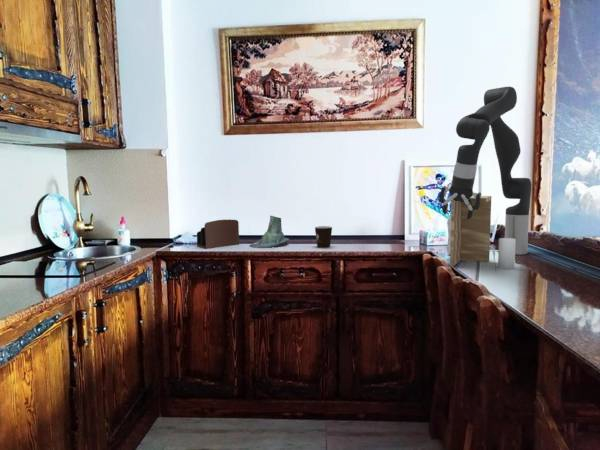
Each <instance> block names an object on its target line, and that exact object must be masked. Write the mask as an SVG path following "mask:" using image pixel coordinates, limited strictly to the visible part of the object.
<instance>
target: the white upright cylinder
mask: <svg viewBox="0 0 600 450" xmlns="http://www.w3.org/2000/svg"><path fill="white" fill-rule="evenodd" d="M515 243H516V239H513V238H505V237H500V238H498V254H497V255H498V257H497V258H498V260H497V261H498V262H497V268H498V269H500V270H501V269H502V270H509V271H510V270H515V268H516V267H515V263H516V262H515V261H516V254H515Z"/></svg>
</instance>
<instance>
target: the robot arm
mask: <svg viewBox="0 0 600 450" xmlns="http://www.w3.org/2000/svg"><path fill="white" fill-rule="evenodd" d="M517 96H518V95H517V91H516V89H515V88H514V87H513V86H502V87H496V88H491V89H488V90H486V91H485V92H484V95H483V106H481V107H480V108H478V109H477V110H476V111H475V112H473V113H470V114H467V115H465V116H463V117H462V118H460V119H459V121H458V122H457V124H456V127H455V132H456V135H457V136H458V137H459V138H462V139H468V140H474V141H473V143H471V144H462V145H460V146H459V147H458V150H457V155H456V161H455V164H454V167H453V168H454V169H453V171H452V172H453V173H452V179H451V183H450V184H451V185H450V187H448V186H446V185H444V186H442V187H441V190H440V193H439V198H438V202H439V203H441V204H442V205H443V206H442V210H441V211H442V213H443V215H447V213H448V208H449V203H450V202H451V201H452V199H453V200H454V201H459V202H462V203H463V202H465V203H466V205H467V206H468V208H469V210H468V215H467V219H468V220H469V219H470V218H471V217H472V214H473V210H478V208H479V207H480V200H481V196H482V192H474V190H473V188H474V184H475V180H476V173H477V167H478V166H477V164H478V159H479V155H480V152H481V148H482V147H483V145H484V142H485V140H486V138H487V137H488V134H489V132H490V129H491V133H492V138H493V145H494V149H495V154H496V159H497V162H498V167H499V172H500V181H501V189H502V194H503V196H504V198H505V199H509V200H519V201H518V203H516V204H515V205H512V206H508V207H507V208H506V209H505V217H504V218H505V223H504V224H505V227H504V238H513V239H516V243H515V255H527V254H528V244H529V226H530V225H529V224H530V221H529V220H530V207H531V197H532V182H531V179H530V178H529V177H512V170H513V167H514V166H515V164H516V162H517V160H518V159H519V156H520V155H521V151H522V150H521V145H520V139H519V137H518V134H517V133H516V132H515V131H514V129H512V128H511V127H510V126H509V125H508V124H507V123H506V122H505V121H504V120H503V118H502V117H501V116H503V115H504V114H506V113H508V112H511V111H512V110H514V108H515V107H516V105H517V102H518V97H517ZM448 192H449V195H450V196H449V197H448V198H446V199H445V194H447V193H448ZM472 196H474V199H476V202H475V206H473V204H472V201H471V199H470V197H472Z"/></svg>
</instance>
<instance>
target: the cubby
mask: <svg viewBox="0 0 600 450" xmlns="http://www.w3.org/2000/svg"><path fill="white" fill-rule="evenodd" d="M470 199H471V201H472V204H473V206H475V202H476V199H474V196H472V197H470ZM450 202H451V206H450V207H451V209H450V216H451V244H450V255H449V256H450V257H449V267H450V268H454V267H455V266H456V265H457V264H458V263H459V262H461V261H471V262H480V263H481V262H484V263H490V255H491V254H490V253H491V252H490V249H491V247H490V246H491V219H492V218H491V217H492V216H491V215H492V195H481V200H480V207H479V208H478V210H473V214H472V217H471V218H470V219H469V220H468V219H467V215H468V210H469V208H468V206H467V205H466V203H465V202H463V203H462V202H459V201H454V200H453V199H452V200H451V201H450Z"/></svg>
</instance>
